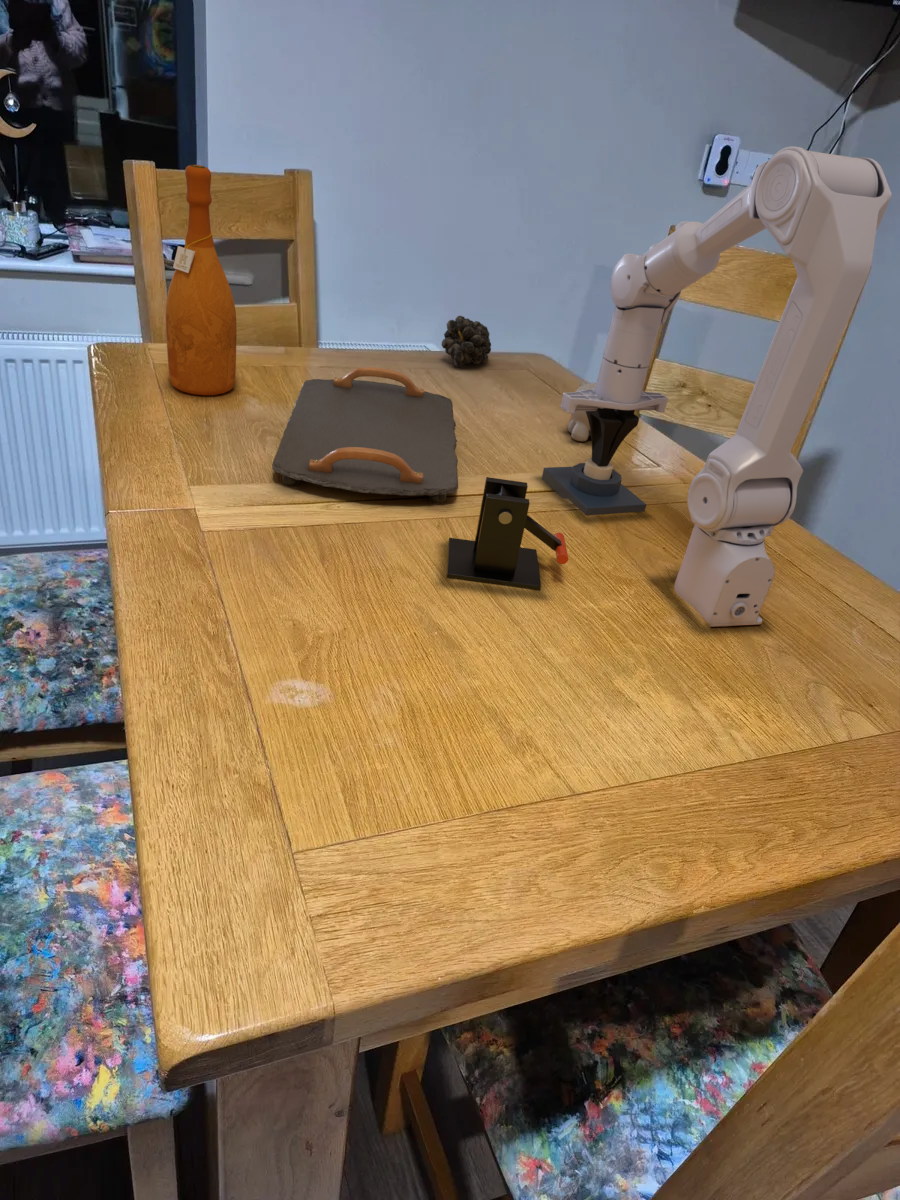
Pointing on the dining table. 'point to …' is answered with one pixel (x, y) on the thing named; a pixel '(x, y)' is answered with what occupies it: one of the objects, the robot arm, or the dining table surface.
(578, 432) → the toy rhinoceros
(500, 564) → the mini lever press
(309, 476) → the serving tray
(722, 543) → the robot arm
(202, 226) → the wine bottle
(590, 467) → the button
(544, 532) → the switch lever
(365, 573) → the dining table surface
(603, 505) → the base unit
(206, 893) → the dining table surface
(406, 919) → the dining table surface
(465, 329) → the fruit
